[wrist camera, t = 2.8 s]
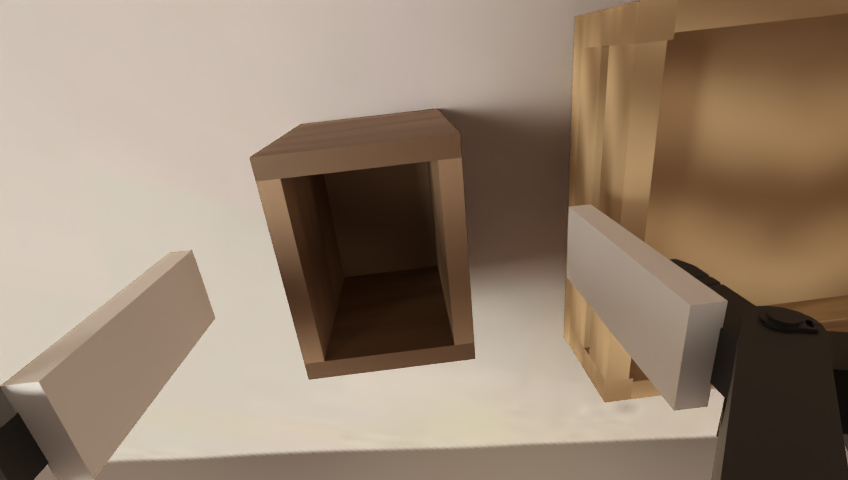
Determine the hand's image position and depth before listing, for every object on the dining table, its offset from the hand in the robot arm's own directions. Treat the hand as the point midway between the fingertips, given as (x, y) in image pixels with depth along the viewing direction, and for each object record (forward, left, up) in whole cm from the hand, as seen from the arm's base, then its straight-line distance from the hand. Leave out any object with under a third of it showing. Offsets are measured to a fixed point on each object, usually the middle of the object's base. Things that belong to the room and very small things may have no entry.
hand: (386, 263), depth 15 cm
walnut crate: (0, 0, -6) cm, 6 cm away
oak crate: (+1, +18, -6) cm, 19 cm away
